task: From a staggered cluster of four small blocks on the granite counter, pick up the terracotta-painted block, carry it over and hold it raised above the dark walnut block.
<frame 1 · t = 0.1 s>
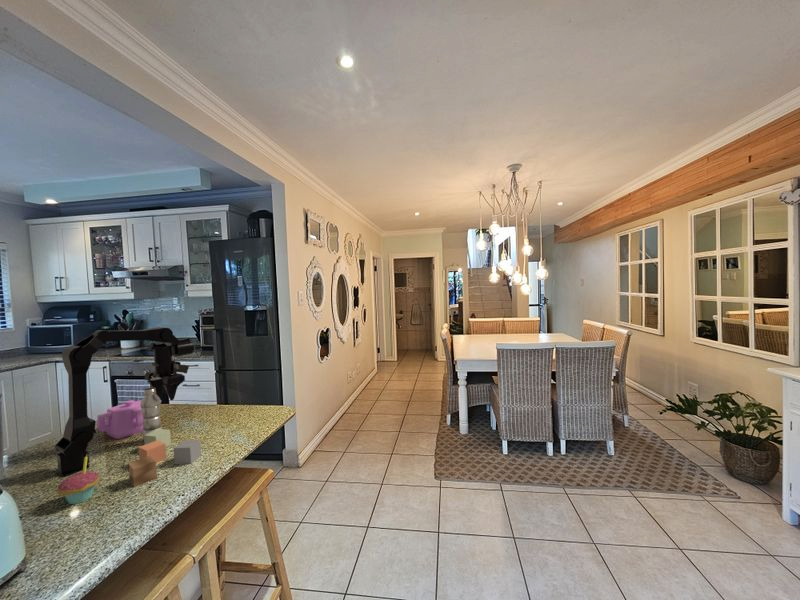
hand: (166, 398, 133), 15 cm above the countertop, fingers open, 9 cm apart
sage block: (158, 447, 124), on the countertop
slate block: (188, 459, 114), on the countertop
cupcake: (80, 499, 94), on the countertop
plastic bottle: (153, 440, 129), on the countertop
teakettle: (132, 430, 140), on the countertop
walnut block: (143, 479, 102), on the countertop
terracotta block: (153, 461, 113), on the countertop
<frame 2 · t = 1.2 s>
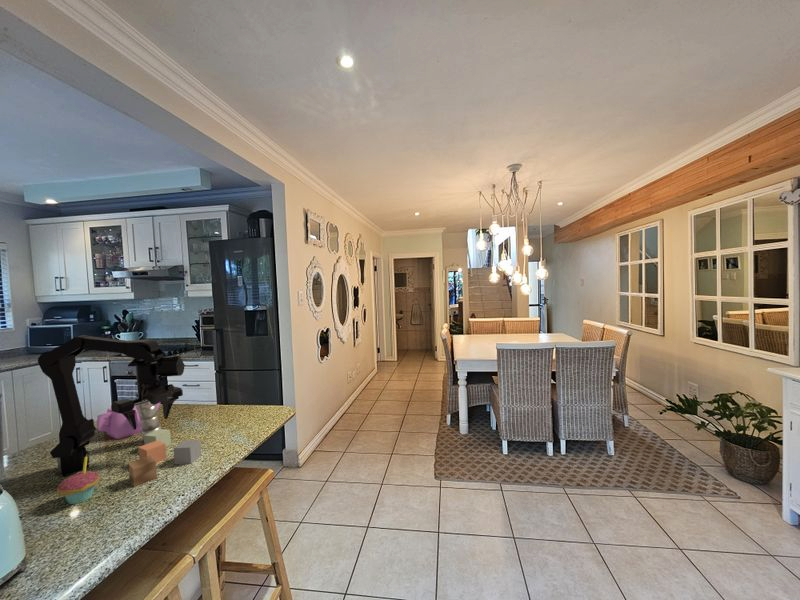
hand: (150, 424, 113), 12 cm above the countertop, fingers open, 9 cm apart
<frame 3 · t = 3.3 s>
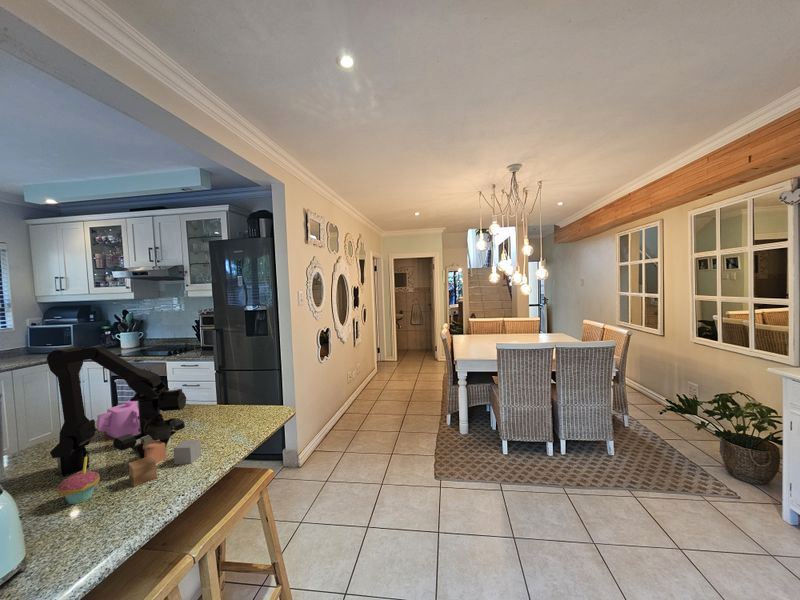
hand: (152, 458, 113), 1 cm above the countertop, fingers closed on terracotta block, 5 cm apart
terracotta block: (153, 461, 113), on the countertop, touching gripper
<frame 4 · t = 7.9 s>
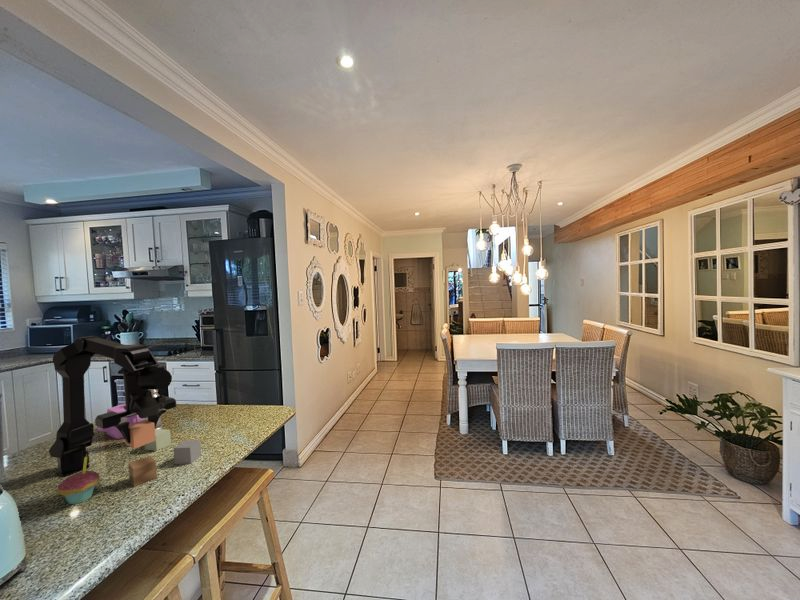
hand: (140, 439, 102), 12 cm above the countertop, fingers closed on terracotta block, 5 cm apart
terracotta block: (140, 442, 102), point 11 cm above the countertop, touching gripper
at the end: the gripper is holding terracotta block; terracotta block inside the target area on the walnut block (0.0 cm from its centre), point 11.5 cm above the walnut block's base; walnut block moved 0.1 cm from its start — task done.
